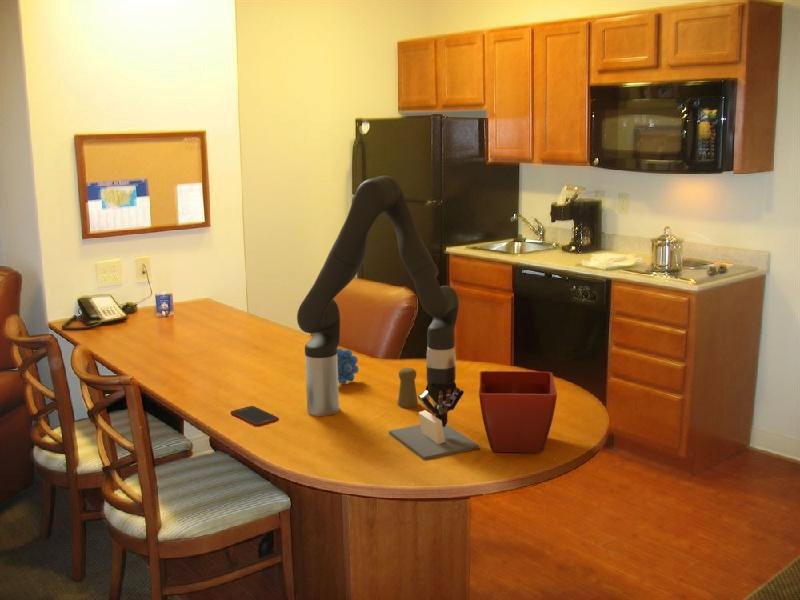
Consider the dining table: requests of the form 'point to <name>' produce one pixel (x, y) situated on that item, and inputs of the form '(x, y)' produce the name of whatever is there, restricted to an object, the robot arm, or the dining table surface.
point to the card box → (431, 427)
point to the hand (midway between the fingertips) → (441, 426)
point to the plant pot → (517, 409)
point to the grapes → (346, 365)
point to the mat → (432, 442)
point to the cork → (407, 388)
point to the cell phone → (254, 416)
